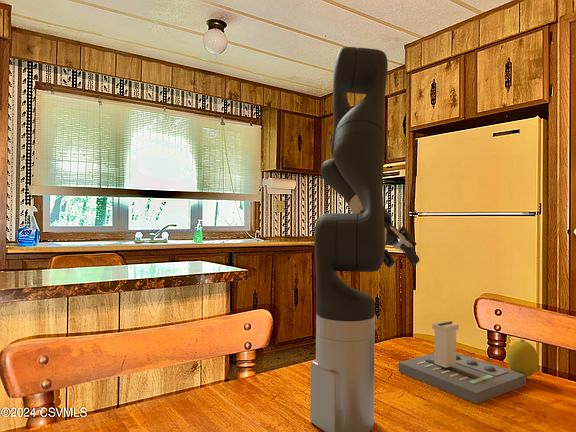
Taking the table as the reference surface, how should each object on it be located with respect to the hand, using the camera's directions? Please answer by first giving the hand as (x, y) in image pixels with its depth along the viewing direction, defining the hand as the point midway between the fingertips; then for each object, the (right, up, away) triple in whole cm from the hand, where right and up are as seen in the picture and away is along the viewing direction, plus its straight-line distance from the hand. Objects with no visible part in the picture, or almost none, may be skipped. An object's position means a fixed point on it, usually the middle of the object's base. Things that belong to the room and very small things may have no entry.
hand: (404, 264), depth 96 cm
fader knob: (+6, -19, -10) cm, 22 cm away
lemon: (+21, -22, -10) cm, 32 cm away
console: (+8, -22, -10) cm, 26 cm away
